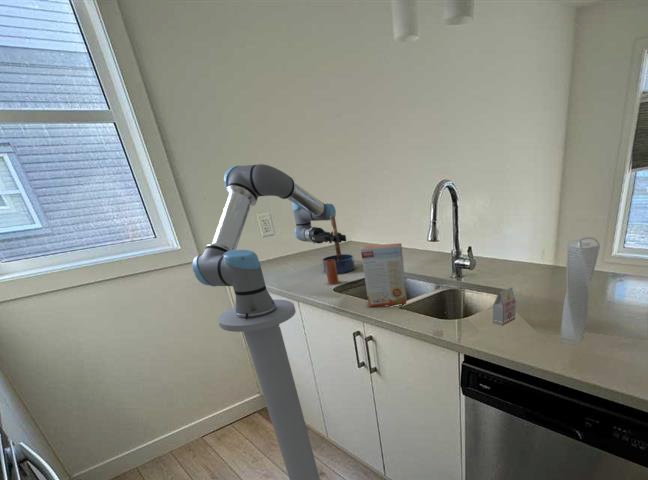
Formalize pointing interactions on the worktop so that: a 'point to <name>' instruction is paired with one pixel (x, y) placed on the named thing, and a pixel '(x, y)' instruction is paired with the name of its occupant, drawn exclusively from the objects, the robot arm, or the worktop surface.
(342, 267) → the bowl
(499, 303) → the milk carton
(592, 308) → the worktop surface
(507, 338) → the worktop surface
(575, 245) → the skyscraper
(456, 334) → the worktop surface
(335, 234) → the stirring stick
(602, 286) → the worktop surface
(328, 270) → the orange tall cylinder
